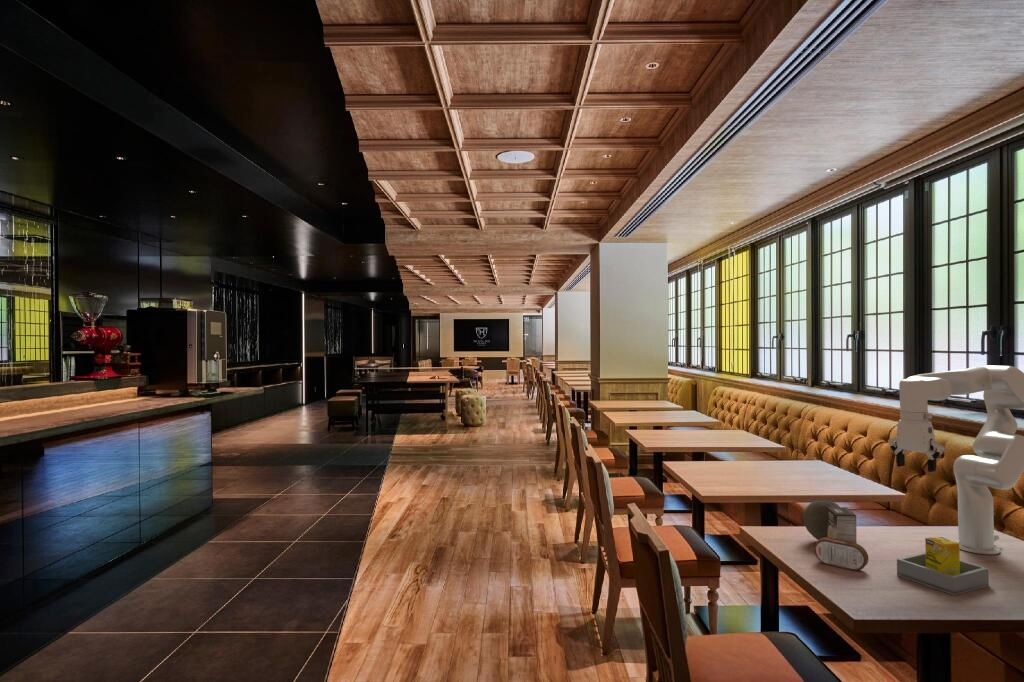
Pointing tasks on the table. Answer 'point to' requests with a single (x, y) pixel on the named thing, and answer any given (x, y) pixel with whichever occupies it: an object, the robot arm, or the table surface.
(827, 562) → the tin
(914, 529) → the table surface
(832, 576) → the table surface
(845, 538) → the coffee box
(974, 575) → the tote
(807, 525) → the smooth river stone
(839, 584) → the table surface
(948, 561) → the supplement box
